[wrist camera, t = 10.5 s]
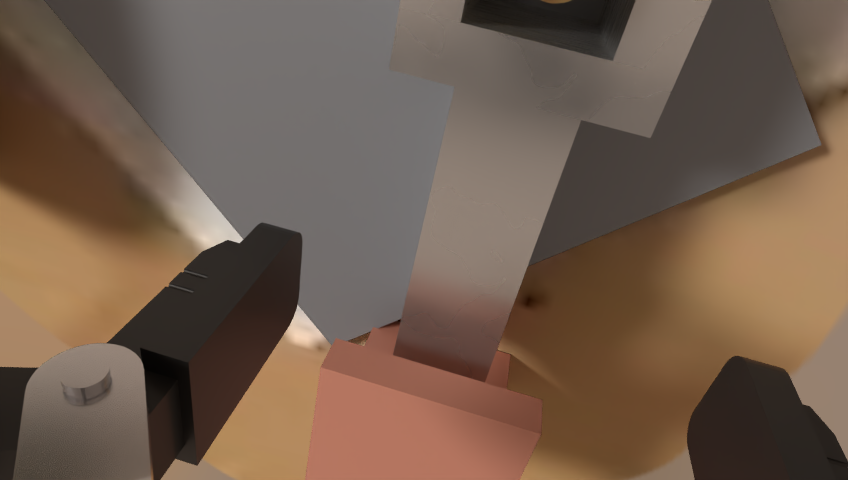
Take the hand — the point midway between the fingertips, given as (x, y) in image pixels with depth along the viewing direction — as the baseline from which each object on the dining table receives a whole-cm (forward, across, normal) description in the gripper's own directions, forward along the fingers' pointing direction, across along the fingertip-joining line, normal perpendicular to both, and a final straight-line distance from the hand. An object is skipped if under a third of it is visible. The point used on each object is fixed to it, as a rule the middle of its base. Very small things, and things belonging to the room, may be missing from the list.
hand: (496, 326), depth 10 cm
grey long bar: (+10, +1, -1) cm, 10 cm away
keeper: (+10, +1, +7) cm, 13 cm away
